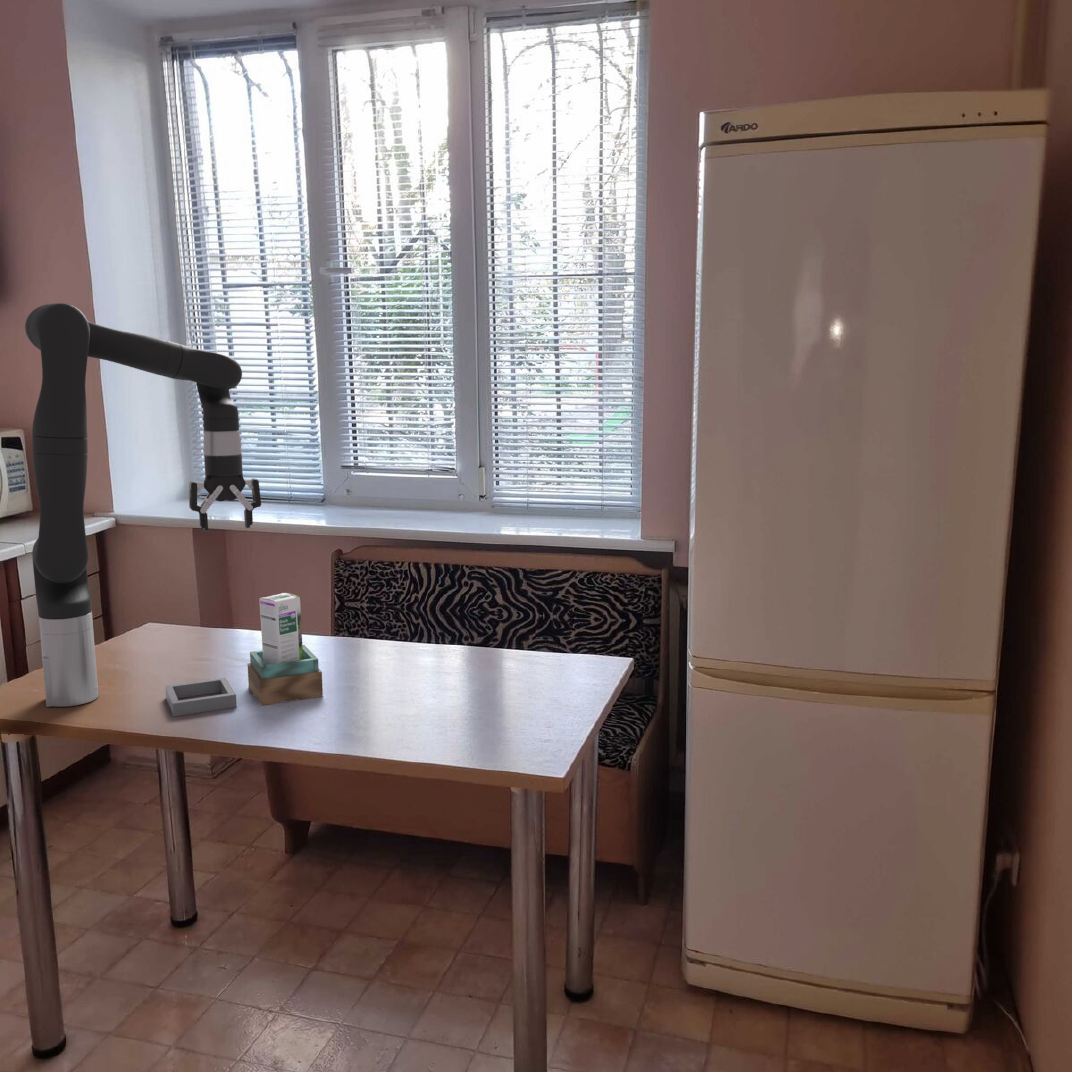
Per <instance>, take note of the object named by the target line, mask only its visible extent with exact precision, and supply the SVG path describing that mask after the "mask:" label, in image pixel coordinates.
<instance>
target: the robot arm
mask: <svg viewBox="0 0 1072 1072" xmlns="http://www.w3.org/2000/svg"><path fill="white" fill-rule="evenodd" d="M24 329H25V334H26V336H27V339H28V340H29V341H30V343H31V344H32V345H33V346H34V347H35V348H36V349H38V350H39V351H40V356H41V358H40V359H41V369H42V371H41V374H42V375H41V385H40V386H41V388H40V390H39V391H40V392H39V394H38V399H37V402H36V405H35V411H34V415H33V421H32V429H31V430H32V431H31V432H32V435H31V441H32V443H31V445H32V448H31V449H32V450H31V451H32V466H33V472H34V473H33V474H34V479H35V485H36V492H37V497H38V502H39V527H38V538H36V540H35V542H34V545H33V546H32V553H31V555H32V556H31V557H32V567H33V579H34V580H33V581H34V589H35V590H34V591H35V597H36V605H37V606H36V607H37V614H38V624H39V633H40V646H41V647H40V648H41V662H42V672H43V673H42V674H43V682H44V683H43V685H44V694H45V695H44V696H45V707H46V708H48V707H49V708H50V707H73V706H79V705H83V704H87V703H90V702H93V701H95V700H96V699H97V698H98V697H99V684H98V683H99V682H98V672H97V671H98V669H97V661H96V648H95V637H94V636H95V635H94V623H93V611H92V600H91V599H92V598H91V594H90V586H89V580H88V568H87V567H88V564H89V559H90V556H89V555H90V554H89V549H88V541H87V535H86V526H85V514H84V513H85V504H84V503H85V495H86V487H87V475H88V474H87V473H88V455H89V454H88V419H87V417H88V416H87V413H88V412H87V410H88V408H87V393H86V376H87V366H88V357H89V358H94V359H99V360H103V361H108V362H111V363H114V364H118V365H123V366H126V367H130V368H133V369H136V370H139V371H143V372H147V373H150V374H154V375H157V376H162V377H165V378H168V379H171V380H173V379H174V380H179V381H190V382H194V383H195V384H196V388H197V393H198V396H199V401H200V403H201V408H202V417H203V418H202V420H203V421H202V422H203V443H202V444H203V448H202V450H203V461H204V480H203V482H202V481H194V480H191V481H190V482H189V502H188V503H189V504H188V505H189V509H190V510H191V511H193V512H198V516H199V526H200V528H201V529H203V531H204V532H208V531H209V522H208V521H209V519H208V513H207V511H208V510H209V508H210V507H211V506H213V504H214V502H215V501H216V502H224V501H230V502H232V501H235V500H237V501H238V502H240V503H241V504H242V506H243V508H244V509H243V515H244V516H243V517H244V520H243V521H244V528H246V529H250V528H251V526H252V525H253V523H254V519H253V517H254V516H253V510H255V509H257V508H260V507H261V506H262V501H261V500H262V499H261V490H260V481H259V479H257V478H254V477H253V478H251V479H245V478H244V476H243V475H244V474H243V456H242V455H243V453H242V452H243V451H242V439H241V434H240V419H239V409H238V406H237V405H236V404H235V403H234V402H233V401H232V399H231V393H230V390H232V389H234V388H236V387H238V385H239V384H240V383H241V381H242V377H243V370H242V367H241V366H240V363H238V361H237V360H236V359H234V358H233V357H231V356H228V355H226V354H223V353H217V352H213V351H208V350H202V349H196V348H192V347H189V346H186V345H184V344H180V343H177V342H174V341H169V340H166V339H162V338H160V337H156V336H151V335H146V334H141V333H135V332H129V331H123V330H119V329H114V328H110V327H107V326H103V325H100V324H97V323H94V322H91V321H89V320H88V319H87V317H86V315H85V314H84V313H83V312H82V310H80V309H79V308H78V307H76V306H74V305H72V304H68V303H66V302H65V303H64V302H60V303H59V302H56V303H47V304H42V305H40V306H38V307H36V308H35V309H33V310H32V311H31V312H30V313H29V314H28V316H27V317H26V319H25V324H24ZM246 486H247V487H248V489H249V490H251V494H252V495H251V496H252V501H251V502H249V500H247V498H246V497H245V495H244V494H243V493H242V492H243V490H244V489H245V487H246ZM202 488H204V489H205V490H206V492H207V493H208V494H207V495H206V496H205V498H204V499H203V502H202V503H201V504H200V505H198V493H200V492H201V491H202Z"/></svg>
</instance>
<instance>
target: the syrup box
mask: <svg viewBox="0 0 1072 1072" xmlns="http://www.w3.org/2000/svg"><path fill="white" fill-rule="evenodd" d="M258 603H259V611H260V612H259V613H260V614H259V615H260V616H259V617H260V630H261V644H262V648H261V649H262V650H263V662H264V664H265V665H267V664H275V663H282V662H289V661H297V660H303V646H302V645H303V631H302V629H303V628H302V613H301V611H302V608H301V598H300V596H298V595H297V594H293V593H288V592H281V593H279V594H273V595H269V596H268V595H267V596H266V597H265V596H264V597H260V598H259V601H258Z"/></svg>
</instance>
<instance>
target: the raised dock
mask: <svg viewBox="0 0 1072 1072" xmlns="http://www.w3.org/2000/svg"><path fill="white" fill-rule="evenodd" d="M302 646H303V660H297V661H289V662H282V663H275V664H267V665H265V664H264V662H263V650H254V651H250V652H249V658H250V659H249V663H247V681H248V688H249V690H250V691H251V693H252V694H253V696H254V698H256V701H257V702H258V704H259V705H260V706H266V705H267V704H268V705H273V704H274V705H275V704H281V703H285V702H292V701H301V700H305V699H306V700H307V699H311V698H313V699H314V698H320V697H323V696H324V692H323V691H324V690H323V671H322V670H321V669H320V668H319V659H318V657H317V656H316V655H315V654H314V653H313V652H312V651H311V650H310V649H309V648H308V647H307V646H306V645H305V644H302ZM268 705H267V706H268Z"/></svg>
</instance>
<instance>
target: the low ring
mask: <svg viewBox="0 0 1072 1072" xmlns="http://www.w3.org/2000/svg"><path fill="white" fill-rule="evenodd" d="M164 689H165V690H164V691H165V698H166V702H167V704H168V706H169V709H170V712H171V714H172V716H173V717H179V716H185V715H186V716H187V715H193V714H198V713H200V714H201V713H205V712H213V711H218V710H225V709H230V708H231V709H232V708H237V707H238V706H237V694H236V692H235V691H234V688H233V687H232V686H231V684H230V683H229V681H228V678H227V677H218V678H212V679H205V680H204V679H203V680H198V681H197V680H196V681H189V682H183V683H176V684H175V683H174V684H169V685H165V686H164ZM216 693H221V694H216ZM210 694H216V695H210ZM201 695H202V697H195V696H201ZM203 695H209V696H203ZM189 696H190V697H193V698H188V697H189ZM181 698H182V699H181ZM183 698H188V699H183ZM179 699H181V700H179Z"/></svg>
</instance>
